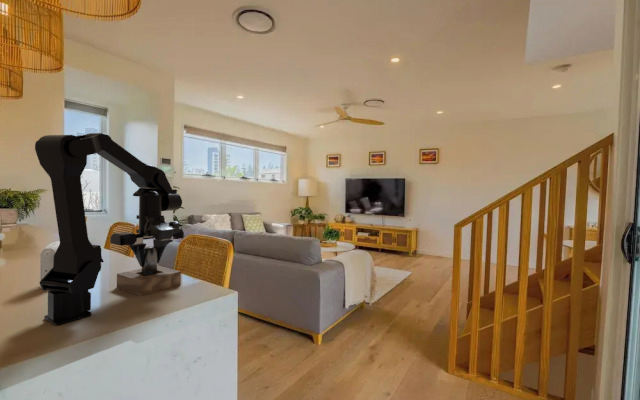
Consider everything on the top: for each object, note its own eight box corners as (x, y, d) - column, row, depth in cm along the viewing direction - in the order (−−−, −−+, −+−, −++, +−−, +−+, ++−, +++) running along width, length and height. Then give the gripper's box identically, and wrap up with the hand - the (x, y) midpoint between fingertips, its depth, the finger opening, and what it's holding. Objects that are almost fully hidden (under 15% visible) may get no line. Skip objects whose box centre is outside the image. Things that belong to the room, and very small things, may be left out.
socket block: (140, 295, 81) (140, 281, 81) (116, 287, 87) (116, 273, 87) (180, 284, 91) (180, 271, 91) (157, 277, 97) (157, 265, 97)
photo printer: (56, 289, 84) (56, 244, 84) (37, 290, 83) (37, 245, 83) (74, 278, 94) (74, 239, 94) (57, 279, 93) (57, 239, 93)
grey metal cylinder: (146, 277, 86) (146, 249, 86) (138, 275, 88) (139, 247, 88) (160, 274, 90) (160, 247, 89) (152, 272, 92) (152, 245, 91)
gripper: (132, 215, 76) (131, 276, 77) (195, 212, 92) (194, 263, 93) (109, 212, 82) (108, 270, 82) (173, 210, 98) (172, 258, 98)
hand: (149, 265), depth 89 cm, fingers closed on grey metal cylinder, 4 cm apart
